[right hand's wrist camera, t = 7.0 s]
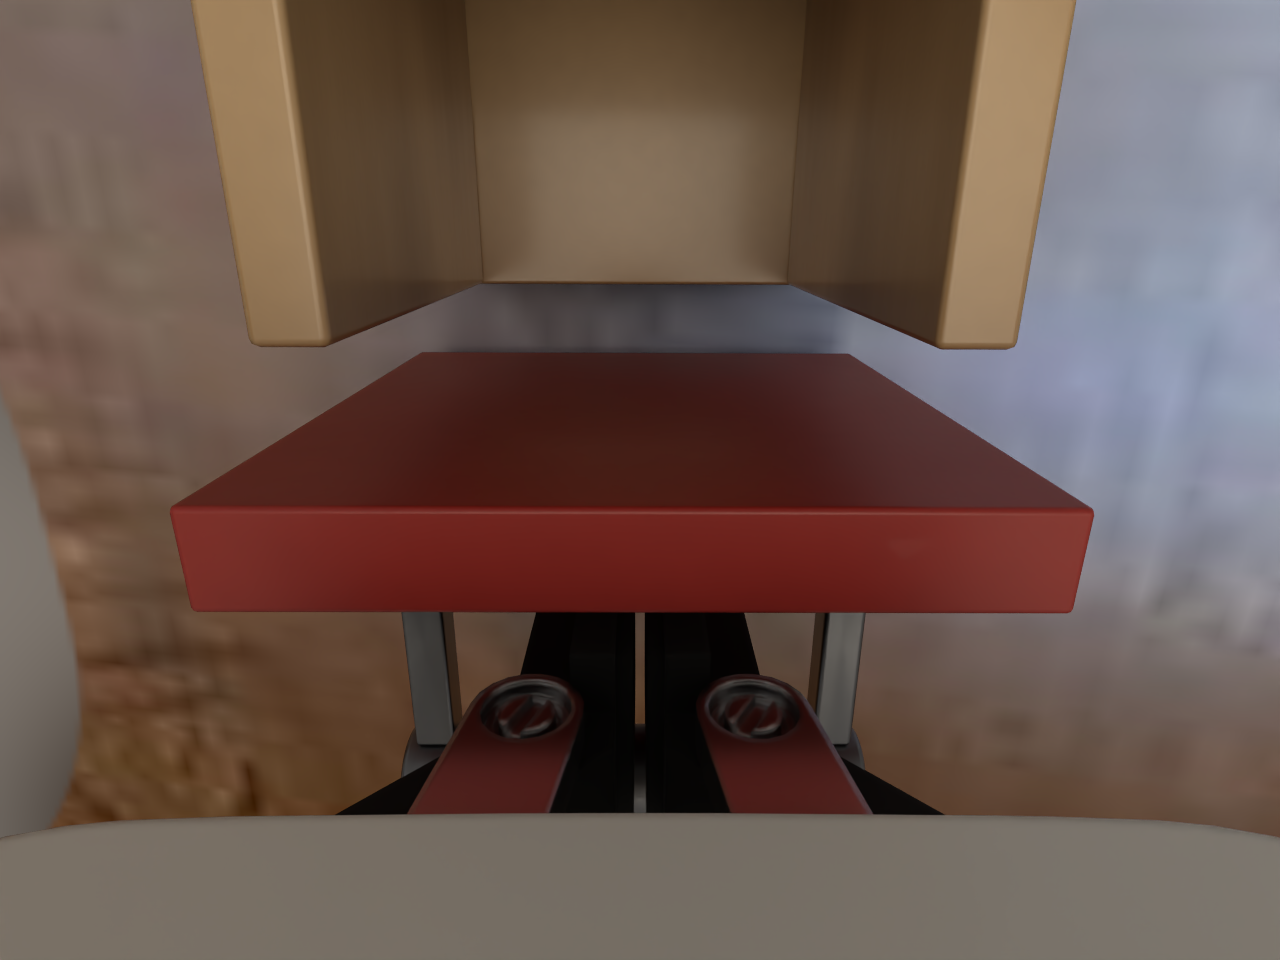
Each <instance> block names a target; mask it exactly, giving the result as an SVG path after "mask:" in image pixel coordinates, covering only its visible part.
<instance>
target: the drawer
mask: <svg viewBox="0 0 1280 960" xmlns="http://www.w3.org/2000/svg"><path fill="white" fill-rule="evenodd" d="M191 5H192V11H193V17H194V23H195V28H196V34H197V40H198V46H199V52H200V57H201V63H202V69H203V75H204V81H205V86H206V92H207V98H208V104H209V110H210V115H211V121H212V127H213V133H214V139H215V144H216V150H217V156H218V162H219V168H220V173H221V179H222V185H223V191H224V197H225V202H226V208H227V214H228V220H229V225H230V231H231V237H232V243H233V249H234V254H235V260H236V266H237V272H238V278H239V283H240V289H241V295H242V301H243V307H244V312H245V318H246V324H247V330H248V336H249V339H250V341H251V343H252V344H254V345H257V346H260V347H326V346H328V345H331V344H333V343H336V342H338V341H340V340H343V339H345V338H348V337H350V336H353V335H355V334H358V333H360V332H363V331H365V330H367V329H370V328H372V327H375V326H377V325H380V324H382V323H385V322H387V321H390V320H392V319H394V318H397V317H399V316H402V315H404V314H407V313H409V312H412V311H414V310H417V309H419V308H421V307H424V306H426V305H429V304H431V303H434V302H436V301H439V300H441V299H444V298H446V297H448V296H451V295H453V294H456V293H458V292H461V291H463V290H466V289H468V288H471V287H473V286H475V285H478V284H713V285H792V286H794V287H797V288H799V289H801V290H804V291H806V292H808V293H811V294H813V295H815V296H818V297H820V298H822V299H825V300H827V301H829V302H832V303H834V304H836V305H839V306H841V307H843V308H846V309H848V310H850V311H853V312H855V313H857V314H860V315H862V316H864V317H867V318H869V319H871V320H874V321H876V322H878V323H881V324H883V325H885V326H888V327H890V328H892V329H895V330H897V331H899V332H902V333H904V334H906V335H909V336H911V337H913V338H916V339H918V340H920V341H923V342H925V343H927V344H930V345H932V346H934V347H937V348H939V349H988V350H1006V349H1009V348H1012V347H1014V346H1015V344H1016V343H1017V338H1018V332H1019V326H1020V321H1021V315H1022V309H1023V304H1024V298H1025V292H1026V286H1027V281H1028V275H1029V269H1030V263H1031V258H1032V252H1033V246H1034V240H1035V235H1036V229H1037V223H1038V217H1039V212H1040V206H1041V200H1042V194H1043V189H1044V183H1045V177H1046V171H1047V166H1048V160H1049V154H1050V148H1051V143H1052V137H1053V131H1054V125H1055V120H1056V114H1057V108H1058V102H1059V97H1060V91H1061V85H1062V79H1063V74H1064V68H1065V62H1066V56H1067V51H1068V45H1069V39H1070V33H1071V28H1072V22H1073V16H1074V11H1075V5H1076V0H191ZM170 515H171V520H172V524H173V529H174V533H175V538H176V542H177V546H178V551H179V555H180V560H181V564H182V568H183V573H184V577H185V582H186V586H187V591H188V595H189V599H190V604H191V608H192V609H193V610H194V611H197V612H402V620H403V629H404V637H405V646H406V654H407V663H408V671H409V680H410V688H411V696H412V705H413V713H414V722H415V728H414V730H413V731H412V733H411V735H410V738H409V741H408V743H407V746H406V750H405V754H404V759H403V765H402V772H401V778H402V777H404V776H406V775H407V774H409V773H411V772H413V771H415V770H416V769H418V768H420V767H422V766H423V765H425V764H427V763H429V762H431V761H432V760H434V759H436V758H438V757H440V756H441V754H442V752H443V751H444V749H445V747H446V745H447V744H448V742H449V740H450V738H451V737H452V735H453V733H454V731H455V730H456V728H457V726H458V725H459V723H460V721H461V719H462V707H461V696H460V685H459V675H458V664H457V653H456V642H455V631H454V620H453V612H672V613H816V614H815V625H814V635H813V646H812V656H811V667H810V677H809V688H808V698H807V701H808V702H809V704H810V705H811V707H812V709H813V711H814V712H815V714H816V716H817V718H818V719H819V721H820V723H821V725H822V726H823V728H824V730H825V731H826V733H827V735H828V737H829V738H830V740H831V742H832V744H833V745H834V747H835V749H836V751H837V752H838V754H839V756H841V757H842V758H844V759H846V760H848V761H849V762H851V763H853V764H855V765H857V766H858V767H860V768H862V769H864V770H865V764H864V758H863V754H862V749H861V746H860V743H859V740H858V737H857V735H856V733H855V731H854V729H853V728H852V722H853V714H854V705H855V697H856V689H857V680H858V672H859V664H860V656H861V647H862V639H863V631H864V622H865V614H866V613H1069V612H1071V611H1072V609H1073V606H1074V602H1075V597H1076V593H1077V588H1078V584H1079V579H1080V575H1081V571H1082V566H1083V562H1084V557H1085V553H1086V549H1087V544H1088V540H1089V535H1090V531H1091V527H1092V522H1093V518H1094V511H1093V509H1092V508H1091V507H1089V506H1087V505H1086V504H1084V503H1083V502H1081V501H1079V500H1078V499H1076V498H1075V497H1073V496H1072V495H1070V494H1068V493H1067V492H1065V491H1064V490H1062V489H1061V488H1059V487H1057V486H1056V485H1054V484H1053V483H1051V482H1050V481H1048V480H1046V479H1045V478H1043V477H1042V476H1040V475H1039V474H1037V473H1035V472H1034V471H1032V470H1031V469H1029V468H1028V467H1026V466H1024V465H1023V464H1021V463H1020V462H1018V461H1017V460H1015V459H1013V458H1012V457H1010V456H1009V455H1007V454H1006V453H1004V452H1002V451H1001V450H999V449H998V448H996V447H995V446H993V445H991V444H990V443H988V442H987V441H985V440H984V439H982V438H980V437H979V436H977V435H976V434H974V433H973V432H971V431H969V430H968V429H966V428H965V427H963V426H962V425H960V424H958V423H957V422H955V421H954V420H952V419H951V418H949V417H947V416H946V415H944V414H943V413H941V412H940V411H938V410H936V409H935V408H933V407H932V406H930V405H929V404H927V403H925V402H924V401H922V400H921V399H919V398H918V397H916V396H914V395H913V394H911V393H910V392H908V391H906V390H905V389H903V388H902V387H900V386H899V385H897V384H895V383H894V382H892V381H891V380H889V379H888V378H886V377H884V376H883V375H881V374H880V373H878V372H877V371H875V370H873V369H872V368H870V367H869V366H867V365H866V364H864V363H862V362H861V361H859V360H858V359H856V358H855V357H853V356H851V355H850V354H765V353H460V352H422V353H420V354H418V355H417V356H415V357H413V358H412V359H410V360H409V361H407V362H405V363H404V364H402V365H401V366H399V367H397V368H396V369H394V370H392V371H391V372H389V373H388V374H386V375H384V376H383V377H381V378H379V379H378V380H376V381H375V382H373V383H371V384H370V385H368V386H366V387H365V388H363V389H362V390H360V391H358V392H357V393H355V394H353V395H352V396H350V397H349V398H347V399H345V400H344V401H342V402H340V403H339V404H337V405H336V406H334V407H332V408H331V409H329V410H328V411H326V412H324V413H323V414H321V415H319V416H318V417H316V418H315V419H313V420H311V421H310V422H308V423H306V424H305V425H303V426H302V427H300V428H298V429H297V430H295V431H293V432H292V433H290V434H289V435H287V436H285V437H284V438H282V439H280V440H279V441H277V442H276V443H274V444H272V445H271V446H269V447H267V448H266V449H264V450H263V451H261V452H259V453H258V454H256V455H255V456H253V457H251V458H250V459H248V460H246V461H245V462H243V463H242V464H240V465H238V466H237V467H235V468H233V469H232V470H230V471H229V472H227V473H225V474H224V475H222V476H220V477H219V478H217V479H216V480H214V481H212V482H211V483H209V484H207V485H206V486H204V487H203V488H201V489H199V490H198V491H196V492H194V493H193V494H191V495H190V496H188V497H186V498H185V499H183V500H181V501H180V502H178V503H177V504H175V505H173V506H172V507H171V510H170ZM634 813H646V756H645V724H635V761H634Z"/></svg>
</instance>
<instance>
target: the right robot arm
mask: <svg viewBox="0 0 1280 960" xmlns="http://www.w3.org/2000/svg"><path fill="white" fill-rule="evenodd" d="M645 756H646V813H634V761H635V612H536V615H535V619H534V623H533V627H532V631H531V635H530V639H529V643H528V647H527V651H526V655H525V659H524V662H523V666H522V670H521V674H520V675H518V676H513V677H508V678H505V679H503V680H500V681H498V682H495V683H493V684H491V685H490V686H488V687H487V688H485V689H484V690H482V691H481V692H480V693H479V694H478V695H477V696H476V697H475V699H474V700H473V701H472V702H471V704H470V705H469V707H468V709H467V711H466V712H465V714H464V716H463V718H462V719H461V721H460V723H459V725H458V726H457V728H456V730H455V731H454V733H453V735H452V737H451V738H450V740H449V742H448V744H447V745H446V747H445V749H444V751H443V752H442V754H441V756H440V757H438V758H436V759H434V760H432V761H431V762H429V763H427V764H425V765H423V766H422V767H420V768H418V769H416V770H415V771H413V772H411V773H409V774H407V775H406V776H404V777H402V778H400V779H398V780H397V781H395V782H393V783H391V784H389V785H388V786H386V787H384V788H382V789H381V790H379V791H377V792H375V793H373V794H372V795H370V796H368V797H366V798H364V799H363V800H361V801H359V802H357V803H356V804H354V805H352V806H350V807H348V808H347V809H345V810H343V811H341V812H339V813H338V814H336V815H324V816H230V817H201V818H174V819H146V820H120V821H110V822H100V823H90V824H80V825H70V826H62V827H57V828H51V829H45V830H40V831H34V832H28V833H23V834H17V835H12V836H6V837H2V838H0V960H1280V838H1278V837H1274V836H1268V835H1263V834H1257V833H1252V832H1246V831H1240V830H1235V829H1229V828H1223V827H1218V826H1210V825H1200V824H1190V823H1180V822H1170V821H1160V820H1134V819H1106V818H1079V817H1051V816H972V815H944V814H942V813H941V812H939V811H937V810H935V809H933V808H932V807H930V806H928V805H926V804H924V803H923V802H921V801H919V800H917V799H916V798H914V797H912V796H910V795H908V794H907V793H905V792H903V791H901V790H899V789H898V788H896V787H894V786H892V785H891V784H889V783H887V782H885V781H883V780H882V779H880V778H878V777H876V776H874V775H873V774H871V773H869V772H867V771H866V770H864V769H862V768H860V767H858V766H857V765H855V764H853V763H851V762H849V761H848V760H846V759H844V758H842V757H841V756H839V754H838V752H837V751H836V749H835V747H834V745H833V744H832V742H831V740H830V738H829V737H828V735H827V733H826V731H825V730H824V728H823V726H822V725H821V723H820V721H819V719H818V718H817V716H816V714H815V712H814V711H813V709H812V707H811V705H810V704H809V702H808V701H807V700H806V699H805V697H804V696H803V695H802V694H801V693H800V692H799V691H798V690H796V689H795V688H793V687H792V686H790V685H789V684H787V683H785V682H782V681H780V680H777V679H775V678H772V677H767V676H762V675H760V674H759V670H758V666H757V662H756V658H755V654H754V651H753V647H752V643H751V639H750V635H749V631H748V627H747V623H746V619H745V615H744V613H672V612H645Z"/></svg>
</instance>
